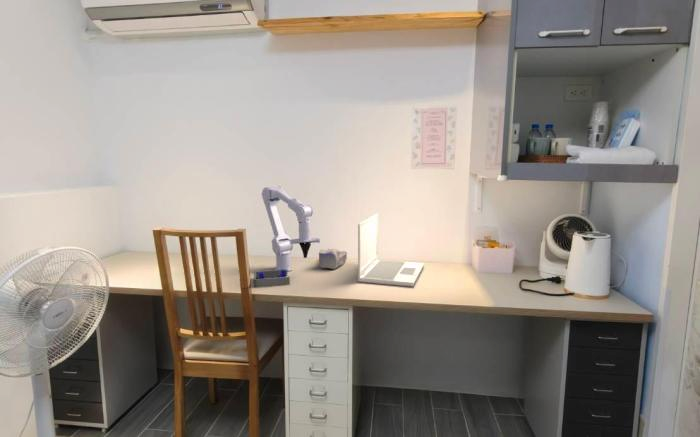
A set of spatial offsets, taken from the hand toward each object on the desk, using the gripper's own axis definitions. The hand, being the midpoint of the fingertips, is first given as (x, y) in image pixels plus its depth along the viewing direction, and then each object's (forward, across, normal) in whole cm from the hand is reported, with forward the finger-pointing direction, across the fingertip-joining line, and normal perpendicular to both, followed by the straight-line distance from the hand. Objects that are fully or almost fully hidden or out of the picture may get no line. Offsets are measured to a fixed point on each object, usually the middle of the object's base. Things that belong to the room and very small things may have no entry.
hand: (305, 257), depth 197 cm
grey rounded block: (+10, +17, +16) cm, 25 cm away
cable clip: (+10, -17, -8) cm, 21 cm away
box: (+9, -17, -5) cm, 20 cm away
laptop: (+10, +43, -9) cm, 45 cm away
